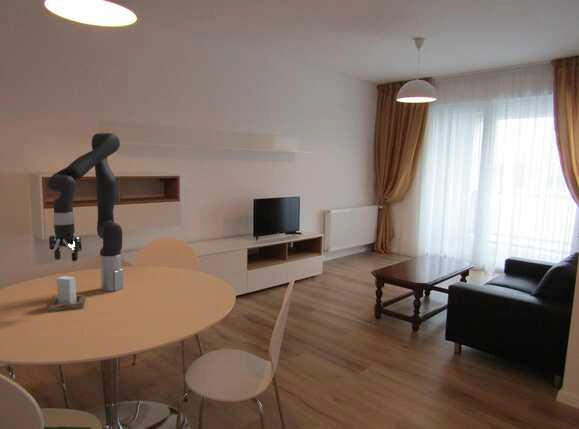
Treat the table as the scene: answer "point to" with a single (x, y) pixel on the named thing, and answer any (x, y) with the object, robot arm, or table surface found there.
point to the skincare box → (66, 290)
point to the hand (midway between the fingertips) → (66, 260)
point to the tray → (68, 306)
